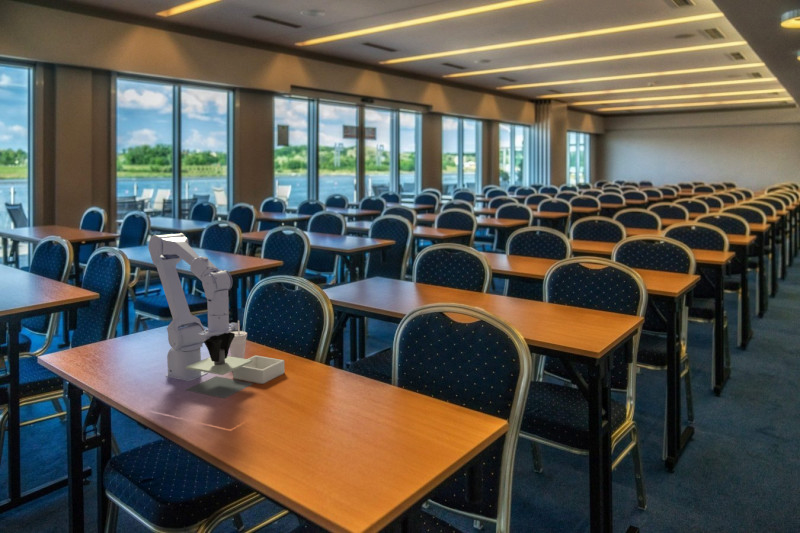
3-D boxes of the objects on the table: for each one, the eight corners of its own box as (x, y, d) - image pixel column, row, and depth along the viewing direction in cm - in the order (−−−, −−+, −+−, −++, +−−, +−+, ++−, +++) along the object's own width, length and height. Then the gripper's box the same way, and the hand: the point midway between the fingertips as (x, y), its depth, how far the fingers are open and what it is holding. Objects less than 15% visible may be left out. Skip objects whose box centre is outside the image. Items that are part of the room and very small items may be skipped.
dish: (232, 379, 181) (232, 365, 180) (255, 368, 190) (255, 355, 190) (262, 385, 176) (262, 370, 175) (284, 374, 186) (284, 360, 185)
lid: (185, 368, 169) (185, 352, 168) (217, 356, 181) (216, 341, 180) (222, 375, 164) (221, 358, 163) (252, 362, 175) (251, 346, 175)
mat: (185, 391, 170) (185, 389, 170) (216, 377, 182) (216, 376, 182) (224, 399, 165) (224, 398, 164) (253, 384, 176) (253, 383, 176)
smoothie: (242, 365, 193) (241, 323, 191) (224, 364, 195) (223, 322, 192) (251, 359, 199) (250, 319, 197) (233, 358, 201) (232, 317, 199)
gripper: (211, 320, 162) (212, 368, 164) (245, 309, 175) (246, 354, 177) (191, 317, 164) (192, 364, 167) (226, 307, 178) (227, 351, 180)
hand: (219, 359), depth 172 cm, fingers closed on lid, 3 cm apart
